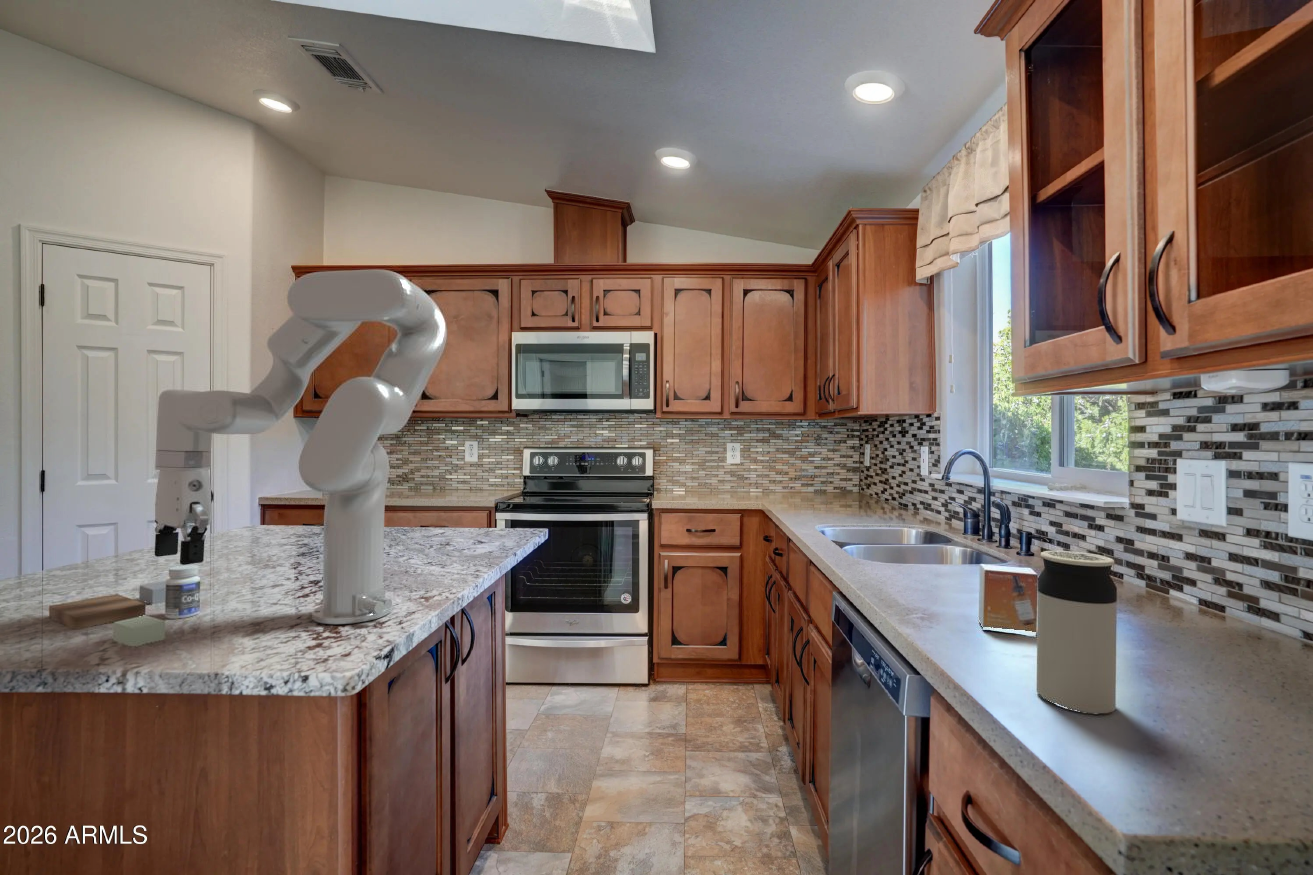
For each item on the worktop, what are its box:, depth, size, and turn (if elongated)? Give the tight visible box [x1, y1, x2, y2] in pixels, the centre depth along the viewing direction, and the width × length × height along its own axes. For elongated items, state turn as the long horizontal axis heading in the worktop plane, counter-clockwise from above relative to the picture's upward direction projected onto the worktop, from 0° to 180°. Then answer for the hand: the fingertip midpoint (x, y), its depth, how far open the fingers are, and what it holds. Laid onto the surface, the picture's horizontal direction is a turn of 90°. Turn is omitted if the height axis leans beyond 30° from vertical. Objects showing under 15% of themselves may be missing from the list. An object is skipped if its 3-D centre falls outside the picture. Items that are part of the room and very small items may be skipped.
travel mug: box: [1036, 550, 1118, 714], centre depth 73 cm, size 8×8×18 cm
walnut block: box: [48, 593, 147, 630], centre depth 101 cm, size 12×9×2 cm
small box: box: [978, 563, 1039, 632], centre depth 101 cm, size 8×6×10 cm
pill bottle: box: [164, 564, 201, 620], centre depth 103 cm, size 5×5×8 cm
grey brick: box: [138, 580, 167, 605], centre depth 112 cm, size 6×4×3 cm, turn 59°
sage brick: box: [112, 614, 167, 647], centre depth 90 cm, size 6×4×3 cm, turn 63°
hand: (178, 559), depth 103 cm, fingers open, 9 cm apart
